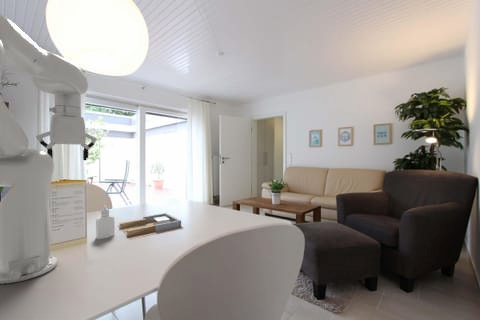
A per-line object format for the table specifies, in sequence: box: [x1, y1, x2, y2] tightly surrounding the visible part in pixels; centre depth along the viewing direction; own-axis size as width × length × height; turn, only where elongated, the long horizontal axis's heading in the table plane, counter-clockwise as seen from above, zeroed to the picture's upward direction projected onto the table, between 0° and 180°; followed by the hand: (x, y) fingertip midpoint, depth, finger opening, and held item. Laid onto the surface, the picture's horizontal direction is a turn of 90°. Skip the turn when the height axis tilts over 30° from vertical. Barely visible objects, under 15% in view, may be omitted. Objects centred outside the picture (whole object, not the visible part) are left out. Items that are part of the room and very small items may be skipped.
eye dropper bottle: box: [95, 205, 115, 240], centre depth 81 cm, size 4×6×12 cm
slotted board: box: [117, 218, 185, 240], centre depth 92 cm, size 20×20×3 cm
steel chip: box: [153, 216, 170, 225], centre depth 95 cm, size 6×5×3 cm
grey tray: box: [142, 212, 182, 232], centre depth 95 cm, size 16×10×2 cm, turn 40°
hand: (68, 160), depth 82 cm, fingers open, 9 cm apart
